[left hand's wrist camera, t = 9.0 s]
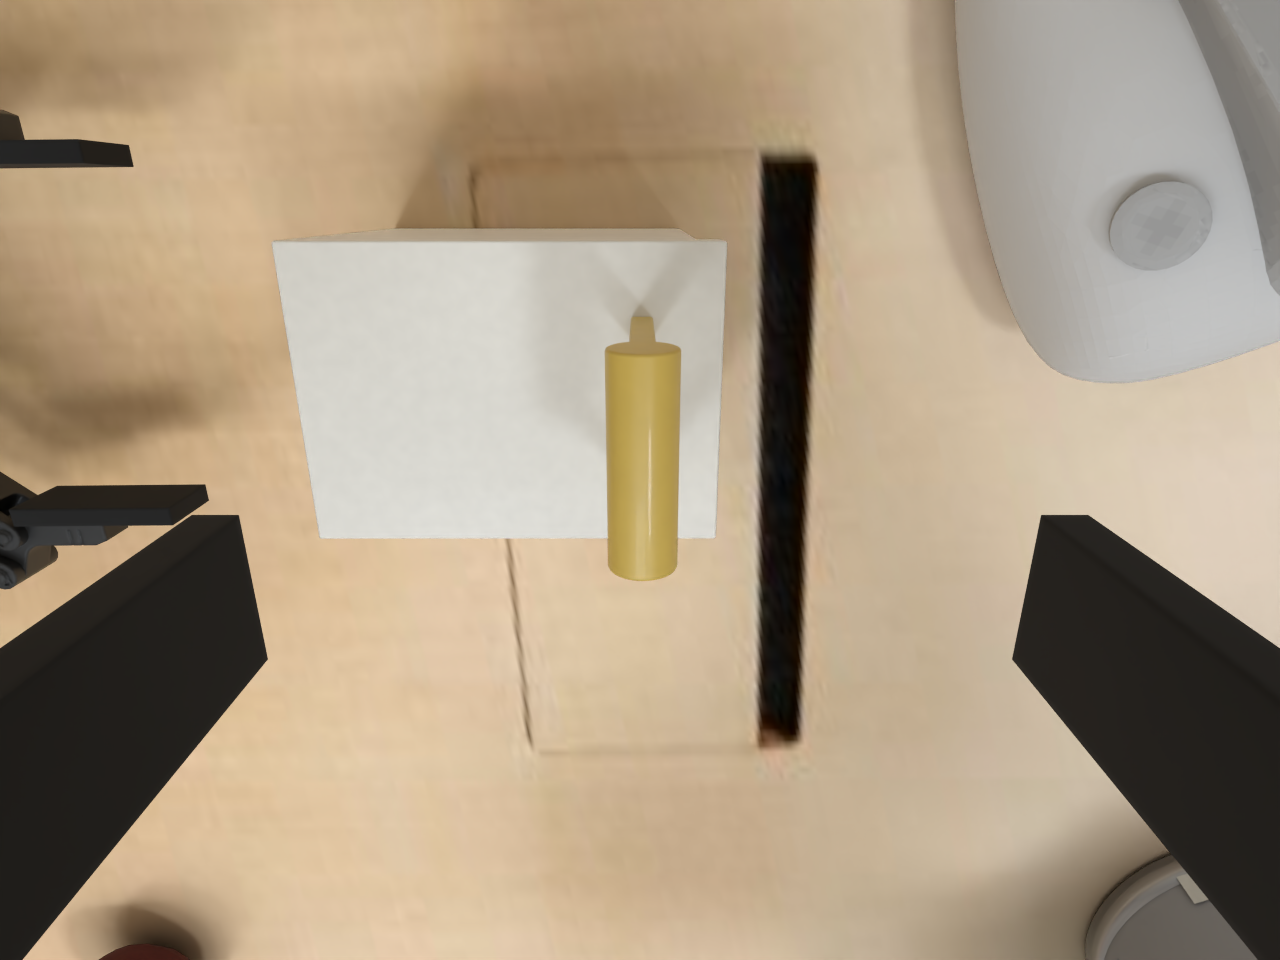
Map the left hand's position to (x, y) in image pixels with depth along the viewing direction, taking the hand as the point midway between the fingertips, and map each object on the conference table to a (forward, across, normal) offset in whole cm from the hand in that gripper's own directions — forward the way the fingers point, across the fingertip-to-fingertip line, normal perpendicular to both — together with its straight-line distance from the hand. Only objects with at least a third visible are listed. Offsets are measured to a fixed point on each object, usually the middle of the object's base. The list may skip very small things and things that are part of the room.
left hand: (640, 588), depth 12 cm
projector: (+25, -20, -11) cm, 34 cm away
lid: (+14, +4, 0) cm, 14 cm away
